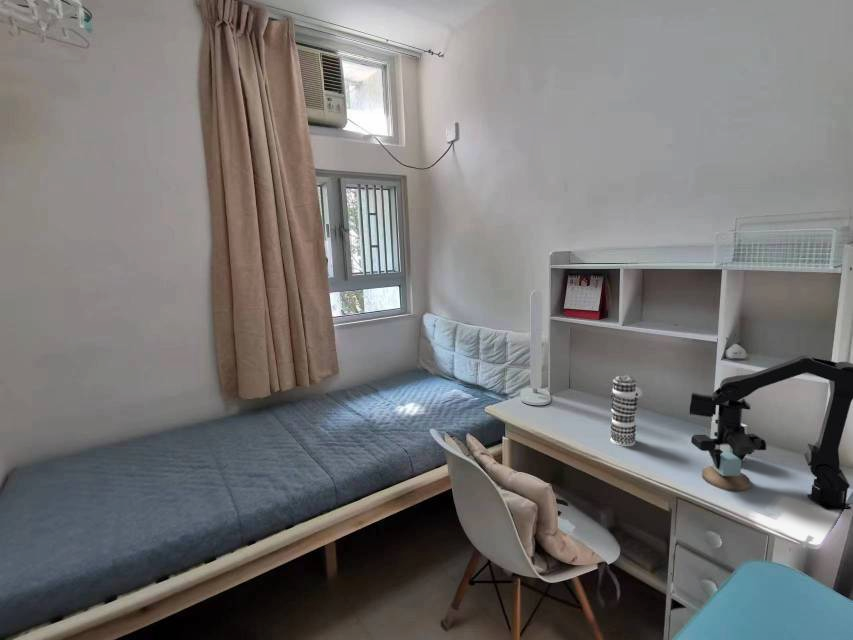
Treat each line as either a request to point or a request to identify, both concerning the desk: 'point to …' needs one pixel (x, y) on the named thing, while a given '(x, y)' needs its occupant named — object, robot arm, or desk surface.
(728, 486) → the walnut base
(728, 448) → the supplement box
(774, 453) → the desk surface
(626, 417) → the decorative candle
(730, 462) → the teal block
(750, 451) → the robot arm
